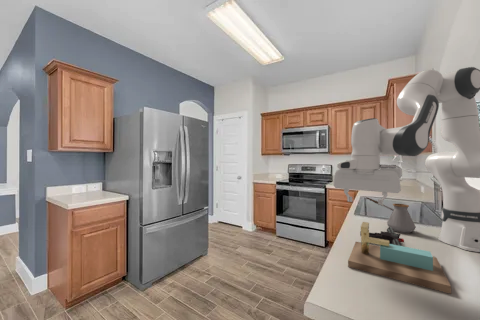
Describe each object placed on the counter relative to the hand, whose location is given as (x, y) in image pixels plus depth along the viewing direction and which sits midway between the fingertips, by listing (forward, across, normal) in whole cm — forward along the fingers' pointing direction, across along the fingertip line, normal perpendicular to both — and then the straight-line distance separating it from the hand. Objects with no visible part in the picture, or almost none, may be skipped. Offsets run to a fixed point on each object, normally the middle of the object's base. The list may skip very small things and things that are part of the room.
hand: (364, 203), depth 74 cm
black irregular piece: (+20, -5, -20) cm, 28 cm away
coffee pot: (+19, -7, -46) cm, 51 cm away
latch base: (+20, -8, 0) cm, 21 cm away
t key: (+17, -3, 0) cm, 18 cm away
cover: (+17, -11, 0) cm, 21 cm away
